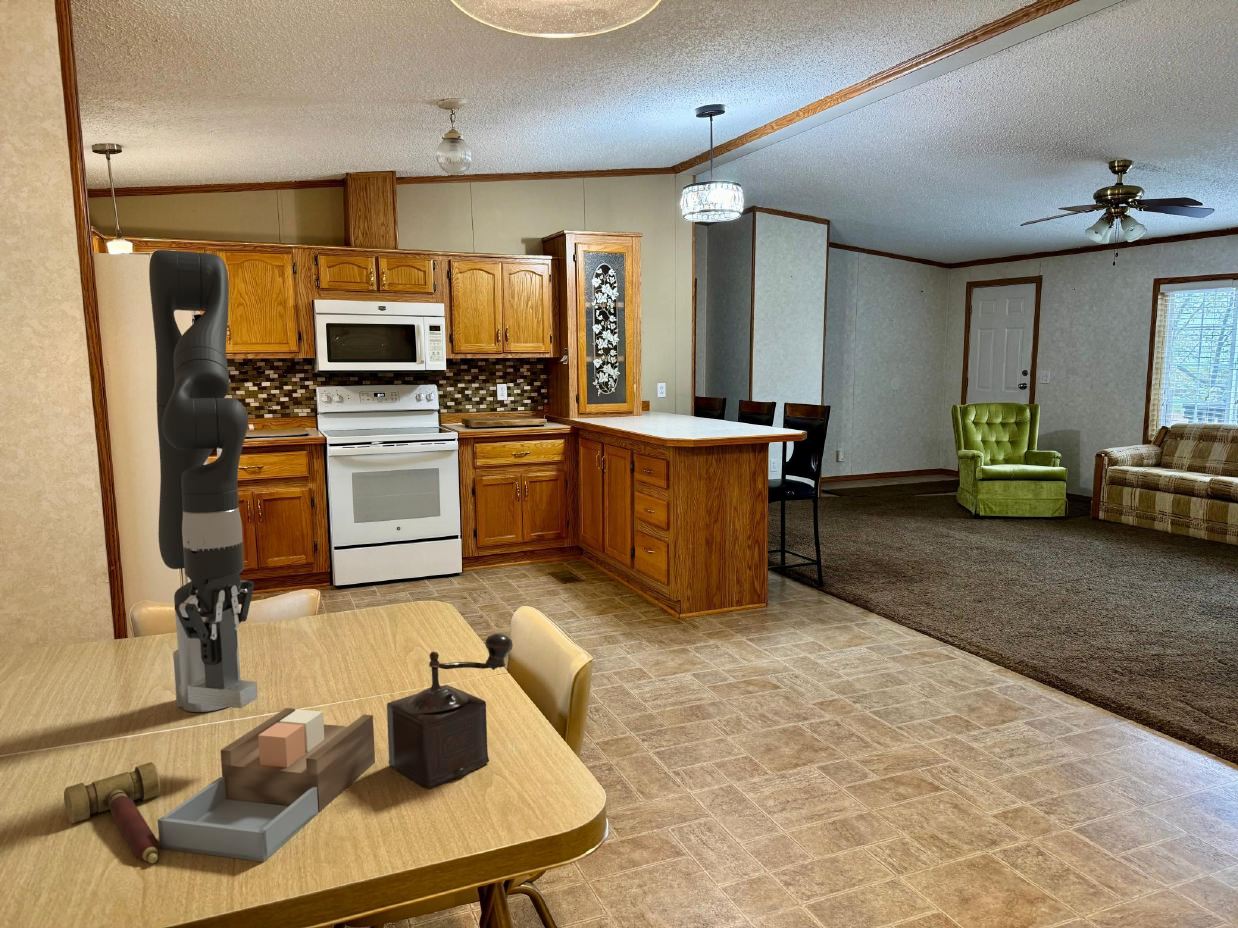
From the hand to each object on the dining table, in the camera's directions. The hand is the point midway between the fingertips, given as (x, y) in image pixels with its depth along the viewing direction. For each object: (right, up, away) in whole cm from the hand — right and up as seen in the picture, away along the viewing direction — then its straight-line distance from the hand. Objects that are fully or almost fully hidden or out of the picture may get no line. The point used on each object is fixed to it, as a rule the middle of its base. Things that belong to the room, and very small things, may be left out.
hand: (220, 658), depth 119 cm
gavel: (-3, -18, -16) cm, 24 cm away
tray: (+11, -17, -17) cm, 26 cm away
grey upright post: (0, -6, +1) cm, 6 cm away
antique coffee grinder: (+33, -15, +1) cm, 37 cm away
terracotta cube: (+13, -11, -9) cm, 19 cm away
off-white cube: (+14, -11, -4) cm, 18 cm away
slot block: (+14, -16, -4) cm, 21 cm away
